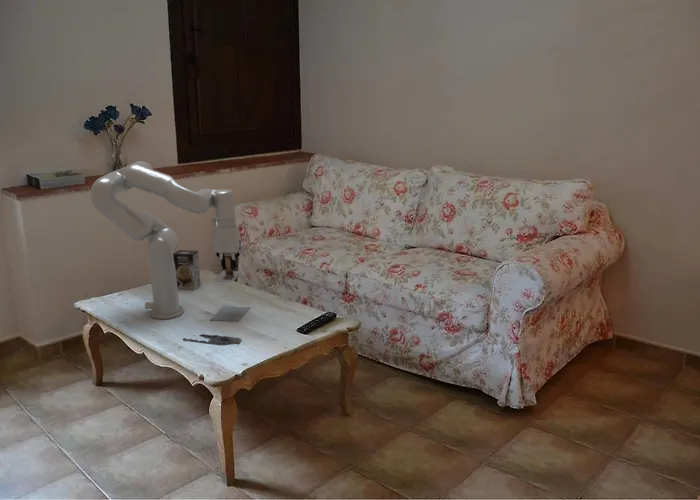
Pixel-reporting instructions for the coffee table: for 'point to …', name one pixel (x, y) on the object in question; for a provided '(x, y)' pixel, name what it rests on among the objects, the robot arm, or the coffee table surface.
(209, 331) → the coffee table surface
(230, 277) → the trowel
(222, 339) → the driftwood
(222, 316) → the mat
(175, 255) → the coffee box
